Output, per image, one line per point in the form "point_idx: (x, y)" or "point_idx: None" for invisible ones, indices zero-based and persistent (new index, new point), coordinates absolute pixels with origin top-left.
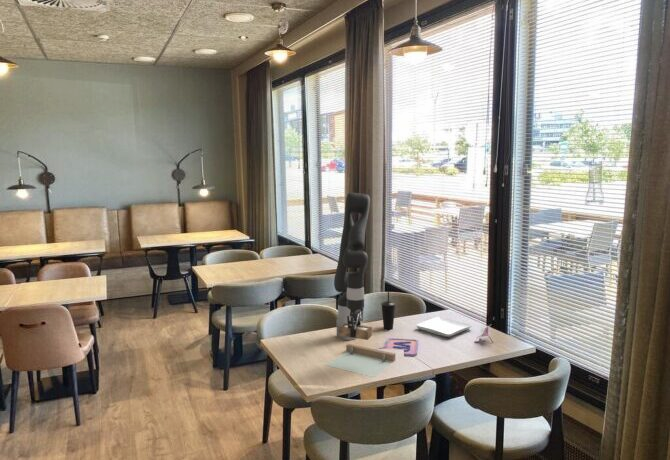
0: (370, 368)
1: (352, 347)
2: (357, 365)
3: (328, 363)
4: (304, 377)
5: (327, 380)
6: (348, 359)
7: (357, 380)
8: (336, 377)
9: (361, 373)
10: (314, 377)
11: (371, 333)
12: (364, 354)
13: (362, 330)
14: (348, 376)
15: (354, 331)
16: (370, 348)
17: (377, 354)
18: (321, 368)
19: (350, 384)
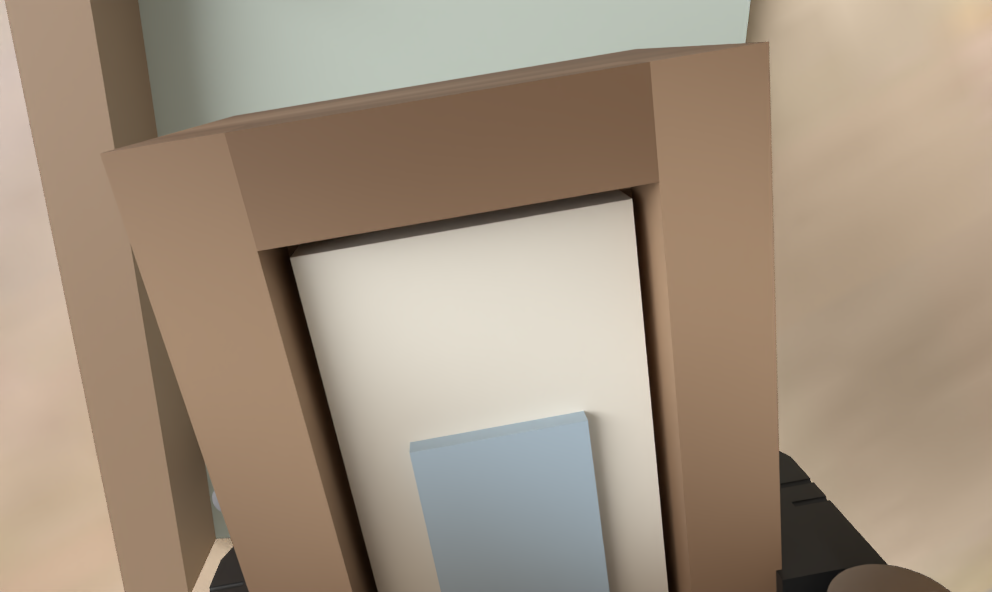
0: (529, 3)
1: (180, 503)
2: None
3: None
4: (962, 530)
5: (962, 319)
6: None
7: (858, 18)
8: (864, 278)
9: (731, 37)
10: (935, 459)
11: (245, 116)
12: None
13: (768, 300)
14: (793, 174)
15: (802, 533)
16: (62, 261)
17: (126, 87)
18: None
19: (986, 41)
